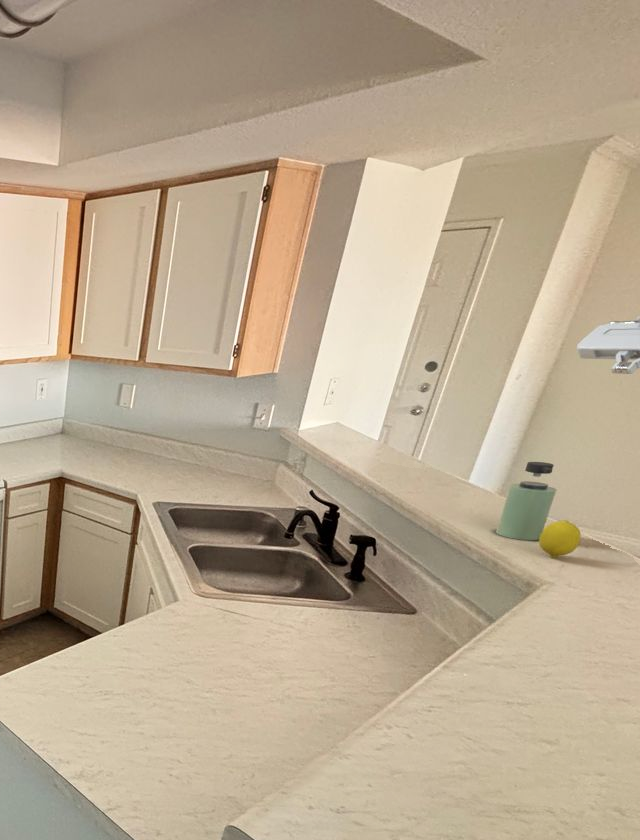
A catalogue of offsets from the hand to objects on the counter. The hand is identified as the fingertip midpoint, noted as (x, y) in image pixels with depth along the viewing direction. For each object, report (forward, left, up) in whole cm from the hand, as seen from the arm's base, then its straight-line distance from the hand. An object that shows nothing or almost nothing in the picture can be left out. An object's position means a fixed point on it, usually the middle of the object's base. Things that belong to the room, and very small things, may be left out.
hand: (621, 371), depth 122 cm
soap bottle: (+11, +8, -35) cm, 37 cm away
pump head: (+11, +9, -22) cm, 26 cm away
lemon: (+9, +22, -35) cm, 43 cm away
